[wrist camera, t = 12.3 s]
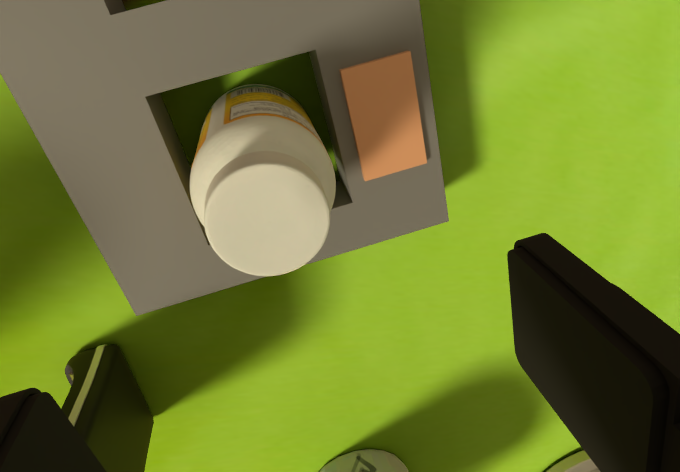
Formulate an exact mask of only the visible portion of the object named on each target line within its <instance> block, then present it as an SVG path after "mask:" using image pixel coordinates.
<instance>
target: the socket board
mask: <svg viewBox="0 0 680 472" xmlns="http://www.w3.org/2000/svg"><path fill="white" fill-rule="evenodd" d="M305 52H309V55H310V59H311V63H312V67H313V71H314V75H315V79H316V83H317V87H318V91H319V95H320V99H321V103H322V107H323V111H324V116H325V120H326V124H327V128H328V132H329V136H330V140H331V144H332V148H333V152H334V156H335V160H336V164H337V168H338V172H339V176H340V180H341V181H337V182H336V192H335V199H334V203H333V206H332V209H331V212H330V226H329V231H328V235H327V237H326V240H325V242H324V244H323V246H322V247H321V249H320V250H319V251H318V253H317V254H316V255H315V256H314V257H313V258H312V259H311V260H310V261H309V262H307V263H306V264H309V263H312V262H316V261H319V260H322V259H325V258H329V257H332V256H335V255H339V254H342V253H345V252H349V251H352V250H355V249H358V248H362V247H365V246H368V245H372V244H375V243H378V242H381V241H385V240H388V239H391V238H395V237H398V236H401V235H405V234H408V233H411V232H414V231H418V230H421V229H424V228H428V227H431V226H434V225H438V224H441V223H444V222H447V221H449V219H448V211H447V204H446V196H445V189H444V181H443V174H442V167H441V159H440V152H439V144H438V137H437V129H436V122H435V114H434V107H433V99H432V92H431V85H430V77H429V70H428V62H427V55H426V47H425V40H424V32H423V25H422V18H421V10H420V3H419V0H166V1H162V2H159V3H155V4H151V5H147V6H143V7H140V8H136V9H132V10H128V11H126V9H125V7H124V4H123V2H122V0H0V73H1V75H2V77H3V79H4V81H5V82H6V84H7V86H8V88H9V89H10V91H11V93H12V95H13V97H14V98H15V100H16V102H17V104H18V105H19V107H20V109H21V111H22V113H23V114H24V116H25V118H26V120H27V122H28V123H29V125H30V127H31V129H32V130H33V132H34V134H35V136H36V138H37V139H38V141H39V143H40V145H41V147H42V148H43V150H44V152H45V154H46V155H47V157H48V159H49V161H50V163H51V164H52V166H53V168H54V170H55V171H56V173H57V175H58V177H59V179H60V180H61V182H62V184H63V186H64V188H65V189H66V191H67V193H68V195H69V196H70V198H71V200H72V202H73V204H74V205H75V207H76V209H77V211H78V213H79V214H80V216H81V218H82V220H83V221H84V223H85V225H86V227H87V229H88V230H89V232H90V234H91V236H92V237H93V239H94V241H95V243H96V245H97V246H98V248H99V250H100V252H101V254H102V255H103V257H104V259H105V261H106V262H107V264H108V266H109V268H110V270H111V271H112V273H113V275H114V277H115V279H116V280H117V282H118V284H119V286H120V287H121V289H122V291H123V293H124V295H125V296H126V298H127V300H128V302H129V304H130V305H131V307H132V309H133V311H134V312H135V314H136V316H138V315H141V314H144V313H148V312H151V311H154V310H157V309H161V308H164V307H167V306H171V305H174V304H177V303H181V302H184V301H187V300H190V299H194V298H197V297H200V296H204V295H207V294H210V293H213V292H217V291H220V290H223V289H227V288H230V287H233V286H237V285H240V284H243V283H246V282H250V281H253V280H256V279H260V278H263V277H266V276H256V275H251V274H247V273H244V272H242V271H239V270H237V269H235V268H233V267H231V266H230V265H228V264H227V263H226V262H224V261H223V260H222V259H221V258H220V257H219V256H218V255H217V254H216V252H215V251H214V250H213V248H212V246H211V245H210V243H209V241H208V238H207V236H206V232H205V227H204V226H203V225H202V223H201V222H200V220H199V218H198V216H197V215H196V212H195V210H194V208H193V204H192V201H191V196H190V174H191V168H190V165H189V163H188V160H187V158H186V155H185V153H184V151H183V148H182V146H181V143H180V141H179V138H178V136H177V134H176V131H175V129H174V126H173V124H172V121H171V119H170V116H169V114H168V112H167V109H166V107H165V104H164V102H163V99H162V97H161V94H160V92H164V91H168V90H171V89H175V88H178V87H182V86H186V85H189V84H193V83H197V82H200V81H204V80H207V79H211V78H215V77H218V76H222V75H226V74H229V73H233V72H236V71H240V70H244V69H247V68H251V67H254V66H258V65H262V64H265V63H269V62H273V61H276V60H280V59H283V58H287V57H291V56H294V55H298V54H301V53H305ZM306 264H305V265H306Z"/></svg>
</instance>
